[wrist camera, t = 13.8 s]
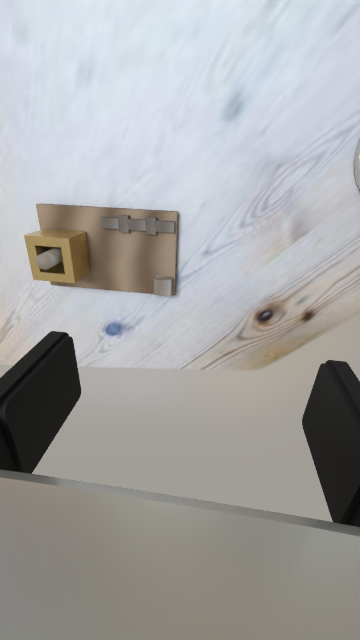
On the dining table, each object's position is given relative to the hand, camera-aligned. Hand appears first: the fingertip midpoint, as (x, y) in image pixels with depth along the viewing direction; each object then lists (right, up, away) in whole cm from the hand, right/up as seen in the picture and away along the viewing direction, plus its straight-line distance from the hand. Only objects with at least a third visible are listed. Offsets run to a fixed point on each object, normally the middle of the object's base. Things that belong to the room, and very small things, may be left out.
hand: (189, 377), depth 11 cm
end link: (-17, +12, +31) cm, 37 cm away
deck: (-11, +13, +32) cm, 36 cm away
